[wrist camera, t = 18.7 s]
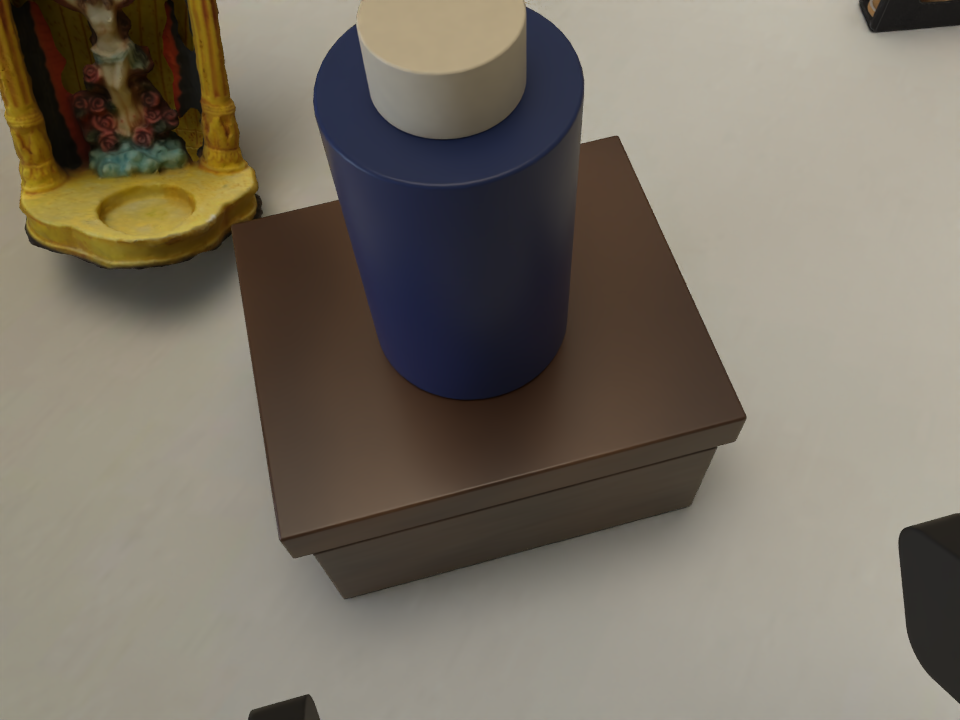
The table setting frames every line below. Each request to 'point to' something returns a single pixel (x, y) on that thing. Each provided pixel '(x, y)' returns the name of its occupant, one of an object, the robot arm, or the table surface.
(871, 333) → the table surface
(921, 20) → the ammunition clip
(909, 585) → the robot arm
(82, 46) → the shrine
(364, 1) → the bottle
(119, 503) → the table surface
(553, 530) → the brown wooden stand
